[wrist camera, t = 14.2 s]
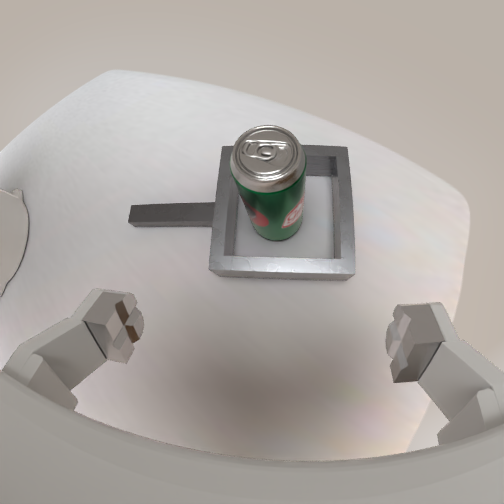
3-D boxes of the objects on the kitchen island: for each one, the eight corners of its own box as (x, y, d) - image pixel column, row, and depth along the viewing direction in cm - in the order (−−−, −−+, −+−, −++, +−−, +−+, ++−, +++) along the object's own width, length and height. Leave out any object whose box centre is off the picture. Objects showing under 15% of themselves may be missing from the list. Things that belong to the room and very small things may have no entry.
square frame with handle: (128, 271, 29) (108, 263, 25) (146, 171, 32) (130, 155, 28) (346, 280, 26) (355, 273, 22) (341, 167, 29) (347, 146, 25)
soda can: (294, 248, 27) (296, 195, 16) (245, 234, 28) (214, 177, 17) (307, 201, 28) (314, 128, 17) (260, 190, 29) (240, 115, 18)
